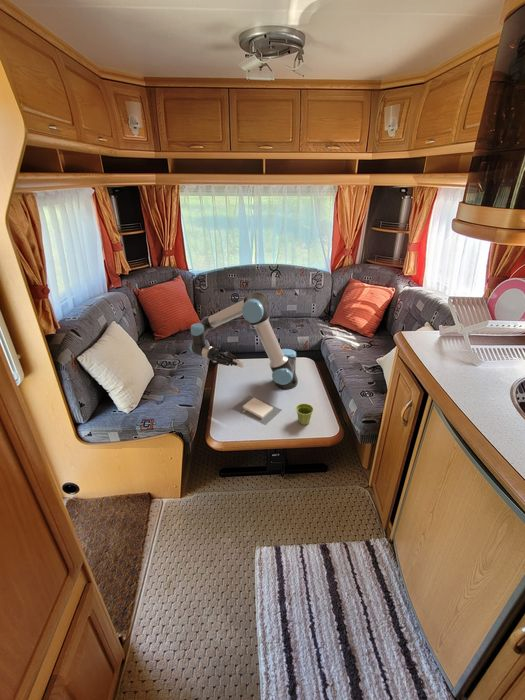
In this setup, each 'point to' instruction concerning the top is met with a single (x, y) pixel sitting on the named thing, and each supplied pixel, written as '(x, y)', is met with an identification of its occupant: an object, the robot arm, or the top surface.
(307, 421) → the plant pot
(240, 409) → the board
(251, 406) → the tile
